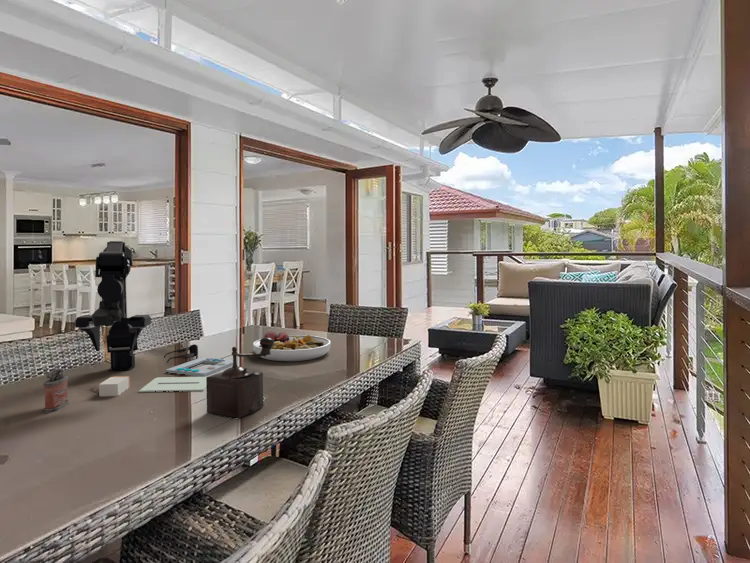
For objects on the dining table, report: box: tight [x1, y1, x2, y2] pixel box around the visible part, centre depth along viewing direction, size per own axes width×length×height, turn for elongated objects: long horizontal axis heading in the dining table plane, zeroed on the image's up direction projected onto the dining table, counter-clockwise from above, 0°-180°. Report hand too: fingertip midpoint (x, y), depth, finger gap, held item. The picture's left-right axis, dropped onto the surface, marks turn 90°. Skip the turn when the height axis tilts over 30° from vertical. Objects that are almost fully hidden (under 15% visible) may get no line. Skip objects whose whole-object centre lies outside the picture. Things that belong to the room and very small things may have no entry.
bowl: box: [252, 331, 331, 362], centre depth 191 cm, size 30×30×8 cm
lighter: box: [42, 368, 70, 414], centre depth 126 cm, size 8×3×10 cm, turn 5°
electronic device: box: [165, 357, 233, 377], centre depth 167 cm, size 18×2×15 cm
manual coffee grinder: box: [206, 336, 274, 419], centre depth 127 cm, size 16×11×18 cm
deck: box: [98, 375, 131, 397], centre depth 140 cm, size 5×8×4 cm, turn 5°
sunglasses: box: [163, 343, 199, 363], centre depth 180 cm, size 10×12×5 cm
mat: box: [138, 376, 208, 393], centre depth 147 cm, size 18×14×1 cm
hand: (114, 350), depth 139 cm, fingers open, 9 cm apart
